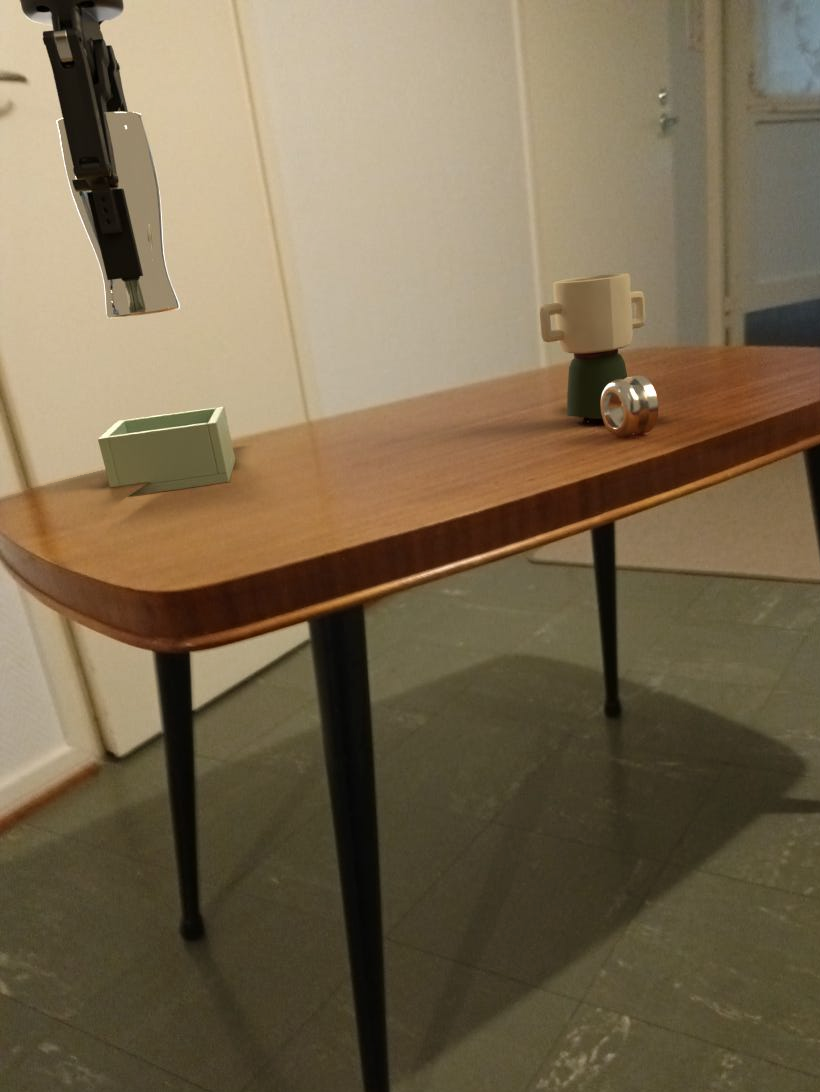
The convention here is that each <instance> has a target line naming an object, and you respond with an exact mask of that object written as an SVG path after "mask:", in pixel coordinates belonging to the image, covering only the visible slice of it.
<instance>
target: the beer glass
mask: <svg viewBox="0 0 820 1092" xmlns="http://www.w3.org/2000/svg"><path fill="white" fill-rule="evenodd" d="M105 114H106V118H107V123H108V127H109V132H110V137H111V142H112V146H113V152H114V159H115V165H116V172H117V176H118V179H119V182H118V187H116V188H113V189H124V193H125V197H126V202H127V206H128V211H129V215H130V220H131V224H132V228H133V233H134V237H135V242H136V246H137V250H138V255H139V259H140V264H141V268H142V272H143V276H138V277H130V278H122V279H113V280H108V279H107V275H106V271H105V267H104V263H103V258H102V254H101V250H100V246H99V242H98V238H97V233H96V229H95V225H94V221H93V217H92V213H91V208H90V204H89V200H88V196H87V192H92V191H91V190H90V191H81V192H76V190H75V188H74V186H73V182H72V180H77V178H76V176H75V174H74V171H73V168H74V167H73V163H72V158H71V153H70V149H69V144H68V140H67V135H66V130H65V126H64V121H63V117H61V118H58V119H57V120H56V124H57V129H58V135H59V141H60V147H61V153H62V157H63V158H62V159H63V164H64V168H65V172H66V177H67V181H68V185H69V189H70V192H71V196H72V199H73V201H74V204H75V207H76V210H77V212H78V216H79V218H80V220H81V223H82V225H83V228H84V230H85V232H86V235H87V238H88V240H89V242H90V244H91V246H92V249H93V251H94V254H95V257H96V260H97V263H98V265H99V268H100V272H101V276H102V281H103V289H104V300H105V301H104V302H105V313H106V317H107V319H116V318H117V319H118V318H119V319H120V318H128V317H129V318H130V317H137V316H144V315H151V314H152V315H153V314H158V313H166V312H171V311H177V310H179V309H180V308H181V307H180V305H181V304H180V301H179V299H178V297H177V294H176V291H175V289H174V287H173V285H172V282H171V278H170V275H169V272H168V267H167V263H166V258H165V249H164V236H163V235H164V233H163V217H162V216H163V215H162V201H161V192H160V185H159V180H158V179H159V178H158V173H157V169H156V165H155V160H154V156H153V153H152V149H151V146H150V142H149V139H148V135H147V132H146V129H145V125H144V121H143V118H142V117H143V116H142V114H141V113H139V112H134V111H128V112H105Z"/></svg>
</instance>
